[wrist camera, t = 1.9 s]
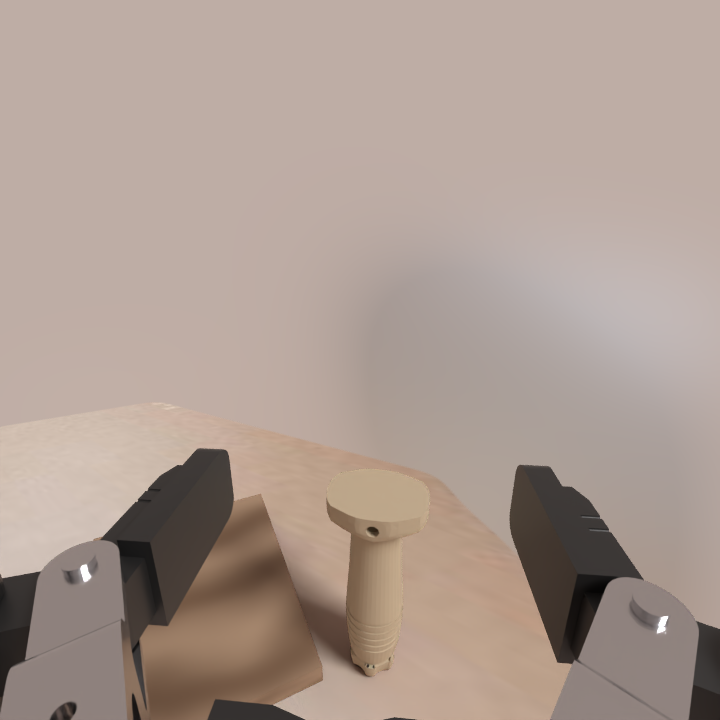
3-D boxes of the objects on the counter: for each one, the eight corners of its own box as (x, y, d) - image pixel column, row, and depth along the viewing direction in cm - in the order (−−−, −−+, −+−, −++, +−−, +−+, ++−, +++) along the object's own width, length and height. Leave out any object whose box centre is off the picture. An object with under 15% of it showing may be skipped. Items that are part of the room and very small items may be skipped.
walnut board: (97, 551, 39) (93, 539, 39) (261, 504, 46) (260, 493, 45) (51, 811, 22) (44, 796, 22) (322, 680, 29) (322, 666, 28)
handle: (414, 700, 28) (429, 528, 22) (323, 682, 29) (317, 513, 23) (416, 632, 32) (430, 475, 27) (338, 618, 33) (336, 464, 28)
